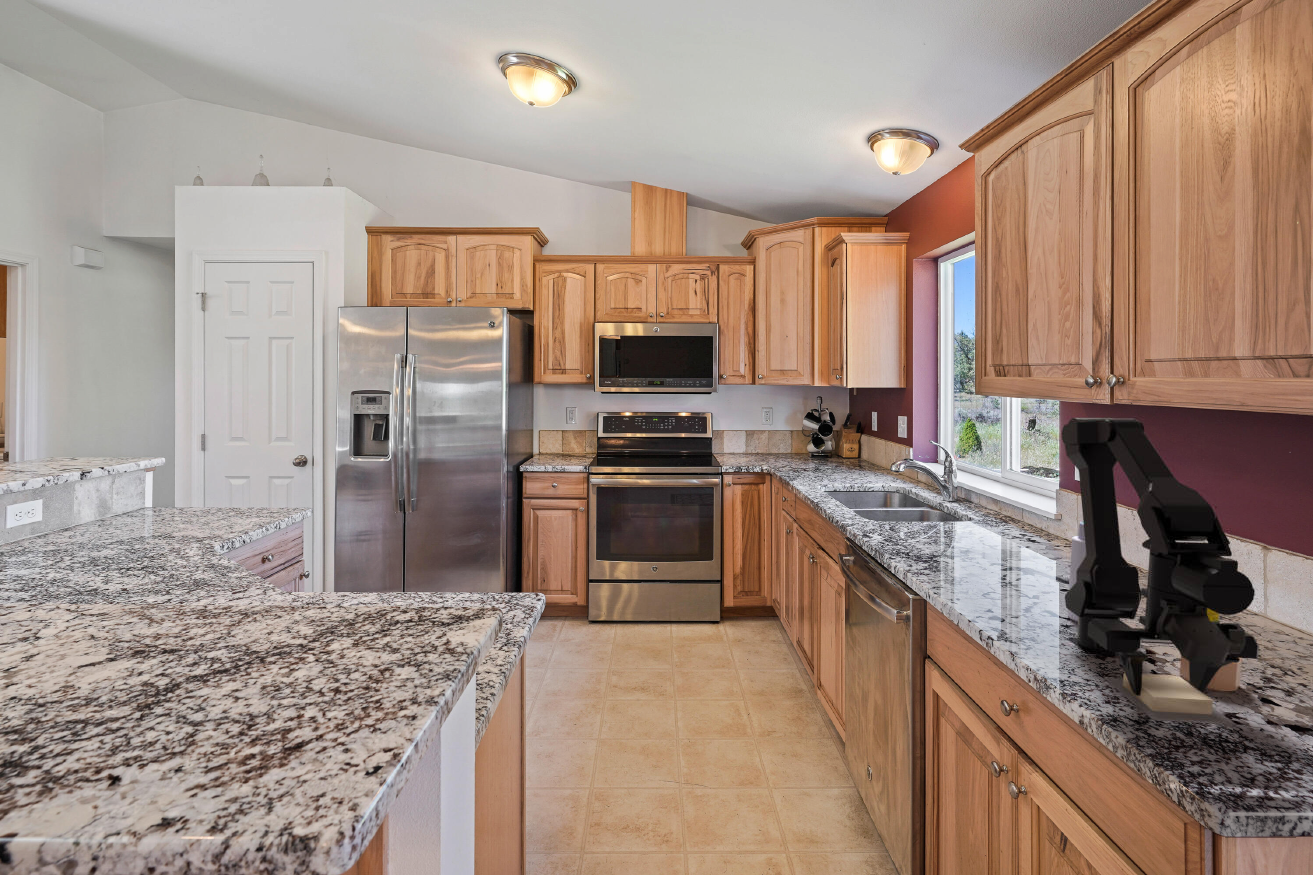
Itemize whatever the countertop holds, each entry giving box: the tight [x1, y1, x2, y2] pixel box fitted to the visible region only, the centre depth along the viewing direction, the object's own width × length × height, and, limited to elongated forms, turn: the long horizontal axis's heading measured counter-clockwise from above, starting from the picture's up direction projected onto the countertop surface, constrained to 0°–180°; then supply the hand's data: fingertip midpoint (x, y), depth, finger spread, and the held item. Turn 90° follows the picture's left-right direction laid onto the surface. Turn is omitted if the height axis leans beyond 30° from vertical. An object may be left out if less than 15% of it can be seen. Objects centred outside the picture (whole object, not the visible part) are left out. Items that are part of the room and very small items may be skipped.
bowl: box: [1179, 655, 1243, 692], centre depth 96 cm, size 6×6×5 cm
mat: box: [1103, 677, 1237, 726], centre depth 91 cm, size 12×10×1 cm
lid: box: [1122, 672, 1214, 714], centre depth 91 cm, size 7×7×2 cm
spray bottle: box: [1067, 521, 1086, 623], centre depth 121 cm, size 6×6×22 cm
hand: (1165, 695), depth 91 cm, fingers closed on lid, 7 cm apart
